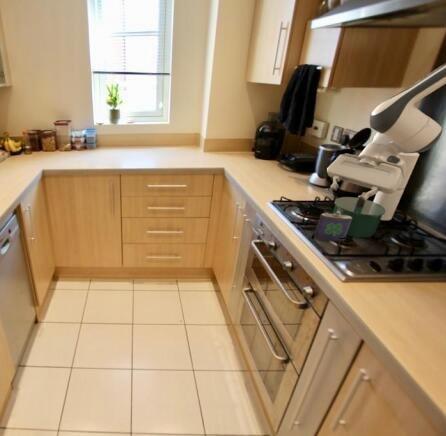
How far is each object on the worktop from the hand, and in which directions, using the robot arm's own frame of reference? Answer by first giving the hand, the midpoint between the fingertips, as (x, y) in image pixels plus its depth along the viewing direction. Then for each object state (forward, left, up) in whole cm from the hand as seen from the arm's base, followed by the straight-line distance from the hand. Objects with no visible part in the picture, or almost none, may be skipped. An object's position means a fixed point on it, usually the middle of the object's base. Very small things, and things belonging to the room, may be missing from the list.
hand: (347, 193), depth 103 cm
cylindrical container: (0, -30, -16) cm, 34 cm away
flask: (-1, +3, -16) cm, 16 cm away
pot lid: (0, -11, -7) cm, 13 cm away
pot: (0, -11, -16) cm, 19 cm away
